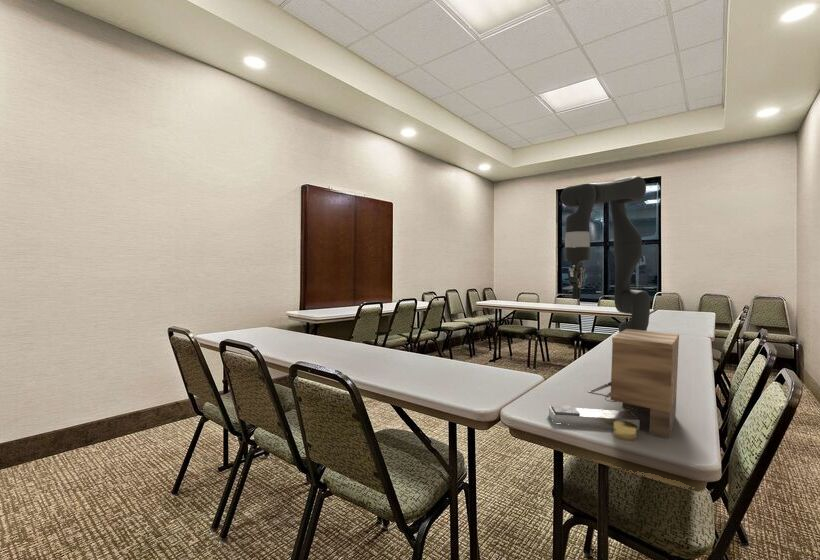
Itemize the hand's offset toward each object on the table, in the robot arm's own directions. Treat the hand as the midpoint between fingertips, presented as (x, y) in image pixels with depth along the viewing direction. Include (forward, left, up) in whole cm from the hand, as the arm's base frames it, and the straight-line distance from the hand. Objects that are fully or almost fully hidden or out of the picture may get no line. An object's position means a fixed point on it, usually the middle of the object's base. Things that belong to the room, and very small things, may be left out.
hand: (576, 298), depth 126 cm
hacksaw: (-11, +10, -32) cm, 35 cm away
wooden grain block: (+12, +22, -31) cm, 40 cm away
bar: (+23, +11, -32) cm, 41 cm away
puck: (+27, +20, -31) cm, 46 cm away
